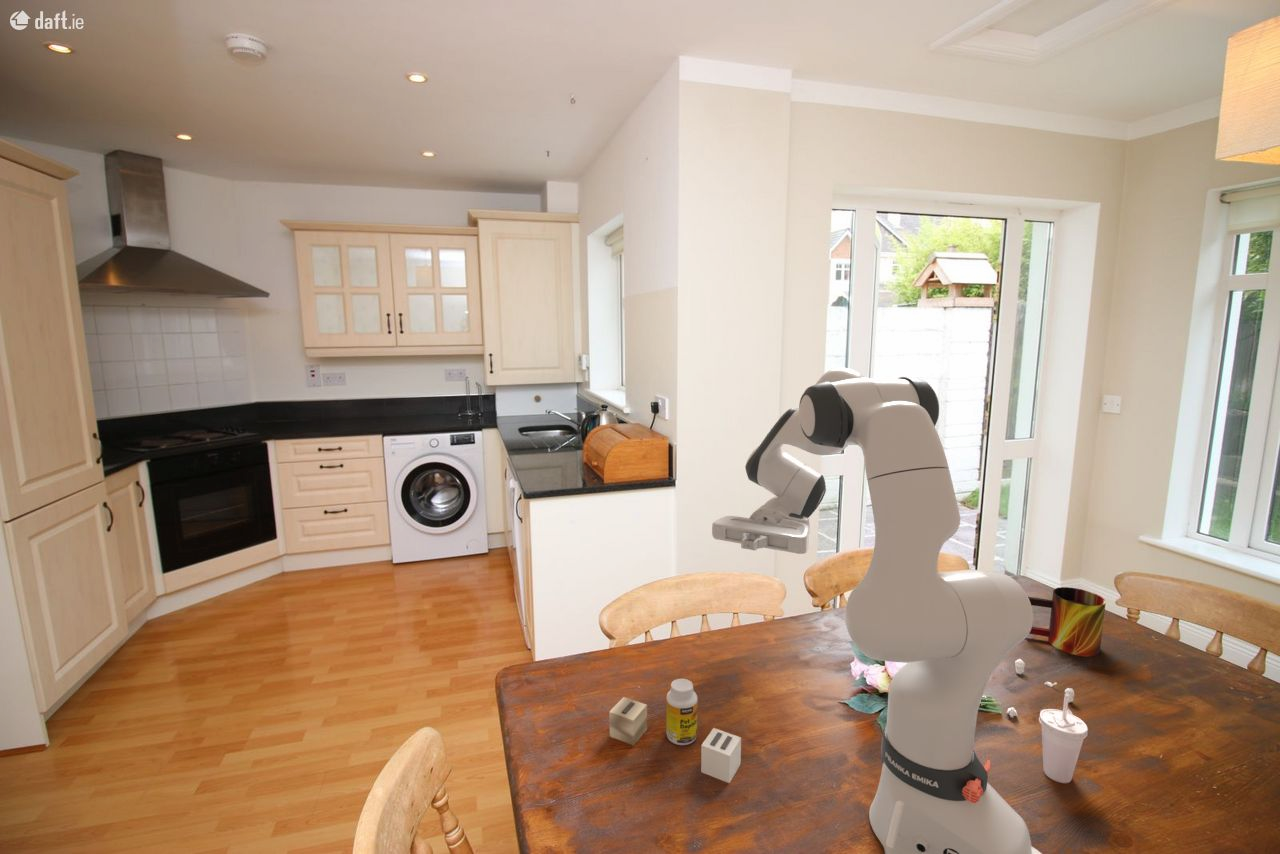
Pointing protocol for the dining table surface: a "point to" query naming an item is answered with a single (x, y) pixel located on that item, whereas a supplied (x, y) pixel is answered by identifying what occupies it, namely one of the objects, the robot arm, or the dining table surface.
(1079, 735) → the smoothie
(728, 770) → the marked off-white block
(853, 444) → the robot arm
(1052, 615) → the mug
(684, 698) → the supplement bottle
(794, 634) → the dining table surface
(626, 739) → the marked birch block
